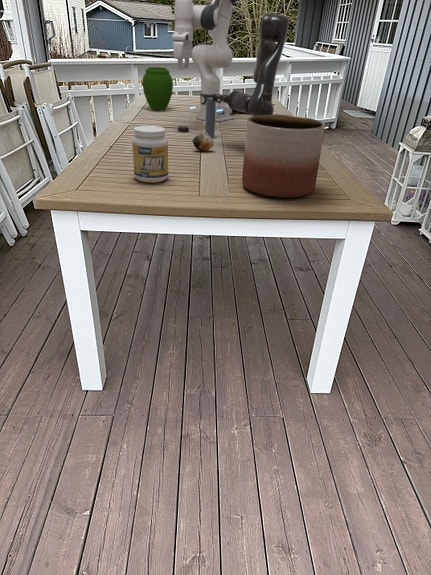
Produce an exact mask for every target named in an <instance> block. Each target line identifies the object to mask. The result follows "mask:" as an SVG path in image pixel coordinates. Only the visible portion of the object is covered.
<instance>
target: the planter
mask: <svg viewBox="0 0 431 575" xmlns="http://www.w3.org/2000/svg"><path fill="white" fill-rule="evenodd" d="M325 130H326V124H325V122H322V121H321V120H318V119H314V118H311V117H306V116H300V115H292V114H291V115H290V114H272V115H257V116H253V115H252V116H250V117H248V118H247V122H246V133H245V143H244V152H243V162H242V163H243V164H242V174H241V182H242V185H243V186H244V187H245V188H246V189H247V190H249V191H250V192H251V193H255V194H257V195H259V196H264V197H268V198H275V199H296V198H301V197H304V196H307V195H309V194H311V193H312V192H314V190H315V188H316V184H317V178H318V173H319V167H320V166H319V165H320V160H321V154H322V149H323V148H322V147H323V141H324V135H325Z"/></svg>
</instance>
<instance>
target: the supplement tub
mask: <svg viewBox="0 0 431 575" xmlns="http://www.w3.org/2000/svg"><path fill="white" fill-rule="evenodd" d="M133 130H134V131H133V134H134V136H133V137H132V140H131V144H132V160H133V176H134V178H135V179H136V180H138V181H139V182H143V183H161V182H164V181H166V180H167V179H168V177H169V141H168V138H167V137H166V128H164V127H162V126H157V125H139V126H136V127H134V128H133Z"/></svg>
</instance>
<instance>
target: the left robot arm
mask: <svg viewBox="0 0 431 575" xmlns="http://www.w3.org/2000/svg"><path fill="white" fill-rule="evenodd" d="M204 1H205V2H206V3H208V4H195V3H194V1H193V0H174V12H173V14H174V16H173V17H174V27H173V28H174V29H173V30H174V31H173V34H171V40H172V41H173V42H172V48H173V57H174V60H177V65H178V70H179V71H182V70H184V69H185V70H187V69H189V63H190V59H191V61H192V63H193V64H194V65H195V66H196V68H197V71H198V72H199V76H200V94H199V102H200V104H199V111H198V116H197V119H198V120H201V121H206V102H207V98H212V97H213V94H217V95H221V79H220V77H219V76H218V75H217V74H216V73H215V71H214V70H215V69H223V68H224V69H225V68H229V67H230V66H231V64H232V63H233V57H234V55H233V51H232V50H231V48H230V47H229V44H228V34H229V28H230V25H231V20H232V14H233V6H234V5H235V4H236V3H237V2H238V1H239V0H204ZM194 30H205V31H207V34H208V35H209V37H210V38H211V40H212V44H198V45H195V46H194V47H193V41H194ZM183 62H184V64H183ZM214 68H215V69H214ZM224 97H225V96H223V98H224ZM272 105H273V106H275V103H274V104H272ZM189 109H190V110H192V109H196V106H191V107H189ZM237 114H238V112H235V113H232V112H230V107H229V106H228V105H227V104H226V103H218V102H216V110H215V122H225V121H231V120H234V117H233V115H237Z"/></svg>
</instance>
